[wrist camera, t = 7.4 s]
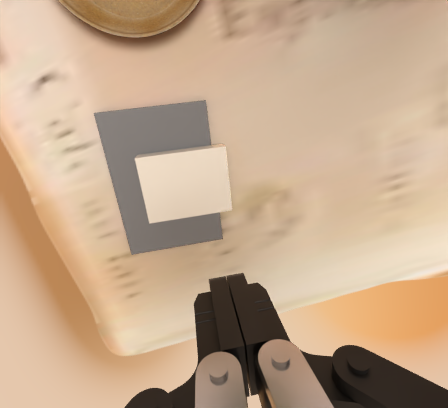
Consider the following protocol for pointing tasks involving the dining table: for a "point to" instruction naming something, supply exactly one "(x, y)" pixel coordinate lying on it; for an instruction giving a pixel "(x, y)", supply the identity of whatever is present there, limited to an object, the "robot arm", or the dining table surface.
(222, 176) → the tile
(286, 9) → the dining table surface
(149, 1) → the plant saucer
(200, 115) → the mat
